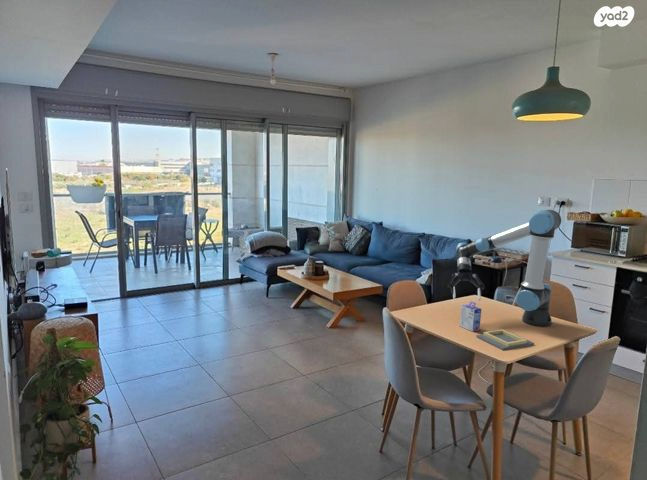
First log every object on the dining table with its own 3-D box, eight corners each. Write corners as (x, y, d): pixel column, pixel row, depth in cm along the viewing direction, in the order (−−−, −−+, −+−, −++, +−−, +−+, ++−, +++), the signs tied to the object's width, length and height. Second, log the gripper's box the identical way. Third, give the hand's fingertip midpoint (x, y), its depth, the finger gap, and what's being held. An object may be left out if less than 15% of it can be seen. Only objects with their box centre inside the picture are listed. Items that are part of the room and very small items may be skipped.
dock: (506, 332, 234) (506, 328, 233) (533, 344, 217) (534, 339, 217) (476, 337, 226) (476, 332, 226) (502, 350, 210) (502, 345, 209)
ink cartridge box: (480, 330, 236) (482, 304, 234) (472, 332, 234) (474, 305, 232) (466, 325, 245) (468, 299, 243) (459, 326, 242) (460, 300, 240)
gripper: (485, 271, 260) (488, 303, 247) (441, 269, 263) (443, 300, 251) (487, 264, 254) (491, 296, 241) (443, 262, 257) (444, 294, 245)
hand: (467, 298), depth 246 cm, fingers open, 13 cm apart
